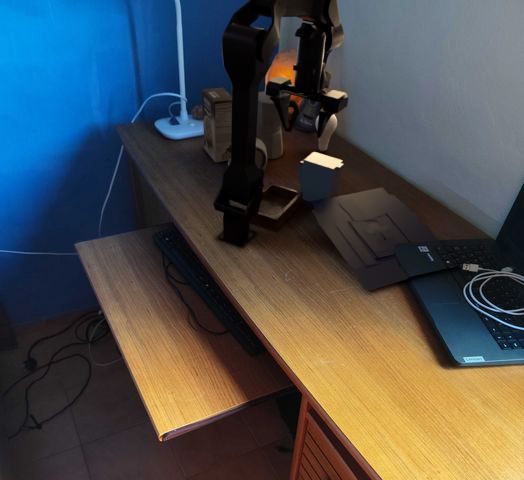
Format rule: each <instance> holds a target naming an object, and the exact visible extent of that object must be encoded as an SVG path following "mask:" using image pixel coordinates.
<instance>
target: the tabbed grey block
mask: <svg viewBox="0 0 524 480" xmlns="http://www.w3.org/2000/svg"><path fill="white" fill-rule="evenodd" d="M344 166H345V163H344V160H342V159H340V158H336V157H333V156H330V155H326V154H323V153H320V152H316V151H313V152H311V153H310V154H309V155H307V157H305V158H304V159H303V160H301V161H299V165H298V175H297V180H298V181H300V186H299V187H300V188H299V192H302V193H303V199H302V201H303V200H304V201H306V202H309V203H311V202H310V201H313V200H319V199H325V198H330V197H336V196H338V192H339V187H340V181H341V177H342V176H341V175H342V172H343V171H342V170H343V168H344Z"/></svg>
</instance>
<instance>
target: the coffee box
mask: <svg viewBox="0 0 524 480" xmlns="http://www.w3.org/2000/svg"><path fill="white" fill-rule="evenodd" d="M201 103H202V106H201V107H202V122H203V123H202V124H203V125H202V126H203V145H204V150H205V152H206V153H207V154H208V156H209V157H210V158H211V160H212V161H213V162H214V163H221V162H228V161H229V160H230V159H231V118H232V94H231V93H230V92H228V91H227V89H225V88H224V87H218V88H212V87H211V88H203V89H201Z"/></svg>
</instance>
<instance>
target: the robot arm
mask: <svg viewBox="0 0 524 480" xmlns="http://www.w3.org/2000/svg"><path fill="white" fill-rule="evenodd" d="M260 16H261V17H265V18H270V19H271V23H270V25H269V27H268V29H267V30H266V29H265V28H260V27H256V26H251V25H252V24H254V23H255V22H256V21H257V20H258V19H259V17H260ZM283 18H298V19H299V20H301V21H302V23H300V24H301V25H300V26H299V27H298V28H297V29H296V31H295V32H294V36H295V37H297V38H298V41H297V51H296V61H295V63H293V65H292V71H295V73H294V83H293V81H292V79H291V78H288V77H284V76H281V75H277V76H275V77H273V78H271V79H269V80H267V82H266V83H265V86H264V91H265V94H266V95H268V96H270V100H272V101H273V103H274V105H275V107H276V109H277V111H278V114H279V117H280V119H281V122H282V125H281V126H282V128H283V129H284V128H288V125H289V123H288V122H289V111H290V110H289V108H290V107H289V101H290V99H291V97H292V96H294V97H299V98H303V99H306V100H309V101H313V102H317V103H321V105H320V107H321V108H322V109H320V110H318V111H319V112H318V116H319V120H318V129H316V138H317V139H319V138H320V137H321V135H322V133H323V131H324V129H325V127H326V125H327V123H328V121H329V119H330V117H331V116H332V115H335V114H338V113H340V112H342V111H343V110H344V109H346V108H347V107H348V104H349V96H348V94H347V92H344V91H340V90H336V89H332V90H330V91H328V92H326V93H324V92H321V91H323V90H324V89H329V87H330V84H331V80H332V76H333V73H331V72H329V71H327V70H325V69H326V63H325V62H324V55H325V54H327V53H329V52H331V51H334V50H335V49H337V48H339V47H340V46H341V45H342V43H343V41H344V38H345V31H344V26H343V25H342V22H341V20H340V15H339V6H338V0H248V1H247V2H246V3H245V4H244V5H242V6H241V7H239V9H237V10H235V12H234V13H233V14H232V16H231V18H230V20H229V21H228V23H227V26H226V27H225V28H224V31H223V33H222V36H221V44H220V45H221V54H222V65H223V68H224V70H225V73H226V74H227V76H228V79H229V81H230V83H231V96H232V118H231V163H230V164H229V166H227V167H226V168H225V170H224V171H223V174H222V182H221V184H220V186H219V188H218V190H217V193H216V196H215V198H214V200H213V203H212V205H213V209H214V211H216V212H220V213H223V215H222V231H221V232H220V233H219V234H218V235H217V239H218V240H221V241H222V242H226V243H228V244H231V245H235V246H237V247H240V248H242V247H244V246H245V245H246V244H247V243H249V241H250V240H251V239H252V238H253V237H254V236H255V235H256V231H255V230H253V229H250V220H251V219H252V218H253V217H255V216H256V215H257V214H258V213H259V208H260V204H261V199H262V195H263V189H264V188H265V186H264V176H265V169H264V170H263V168H260V167H257V165H256V163H255V154H256V134H257V125H258V124H257V115H258V96H259V92H260V84H261V82H263V81H262V80H263V79H264V78H265V76H266V74H267V73H268V71H269V69H270V62H271V57H272V56H273V53H274V51H275V49H276V48H277V46H278V45H279V42H280V35H281V34H280V22H281V21H282V19H283Z"/></svg>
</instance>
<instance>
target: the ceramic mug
mask: <svg viewBox="0 0 524 480" xmlns="http://www.w3.org/2000/svg"><path fill="white" fill-rule="evenodd" d="M230 163H231V159H230V160H229V161H227V165H228V166H229V164H230ZM255 163H256V165H257V167H260V168H263V170H264V171H265V169H266V168H267V165H268V159H267V152H266V147H265V145H264V143H263V142H262V141H261V140H260V139H258V138H256V154H255ZM228 166H227V167H228Z"/></svg>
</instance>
